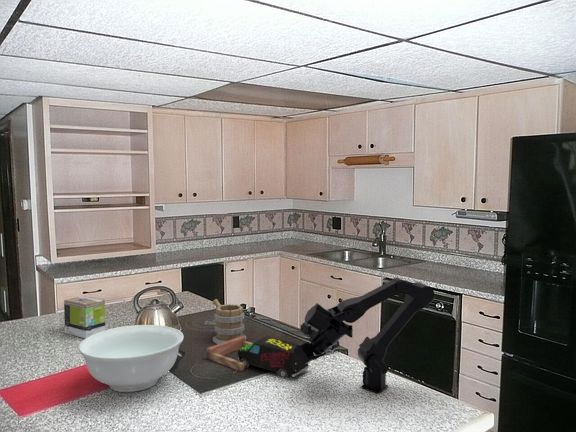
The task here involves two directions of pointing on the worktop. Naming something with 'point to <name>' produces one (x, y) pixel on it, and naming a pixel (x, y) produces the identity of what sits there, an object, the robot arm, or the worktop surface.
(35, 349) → the worktop surface
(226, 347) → the wooden corner rails
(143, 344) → the bowl
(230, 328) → the tankard
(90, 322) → the tea box
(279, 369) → the toy van
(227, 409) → the worktop surface
